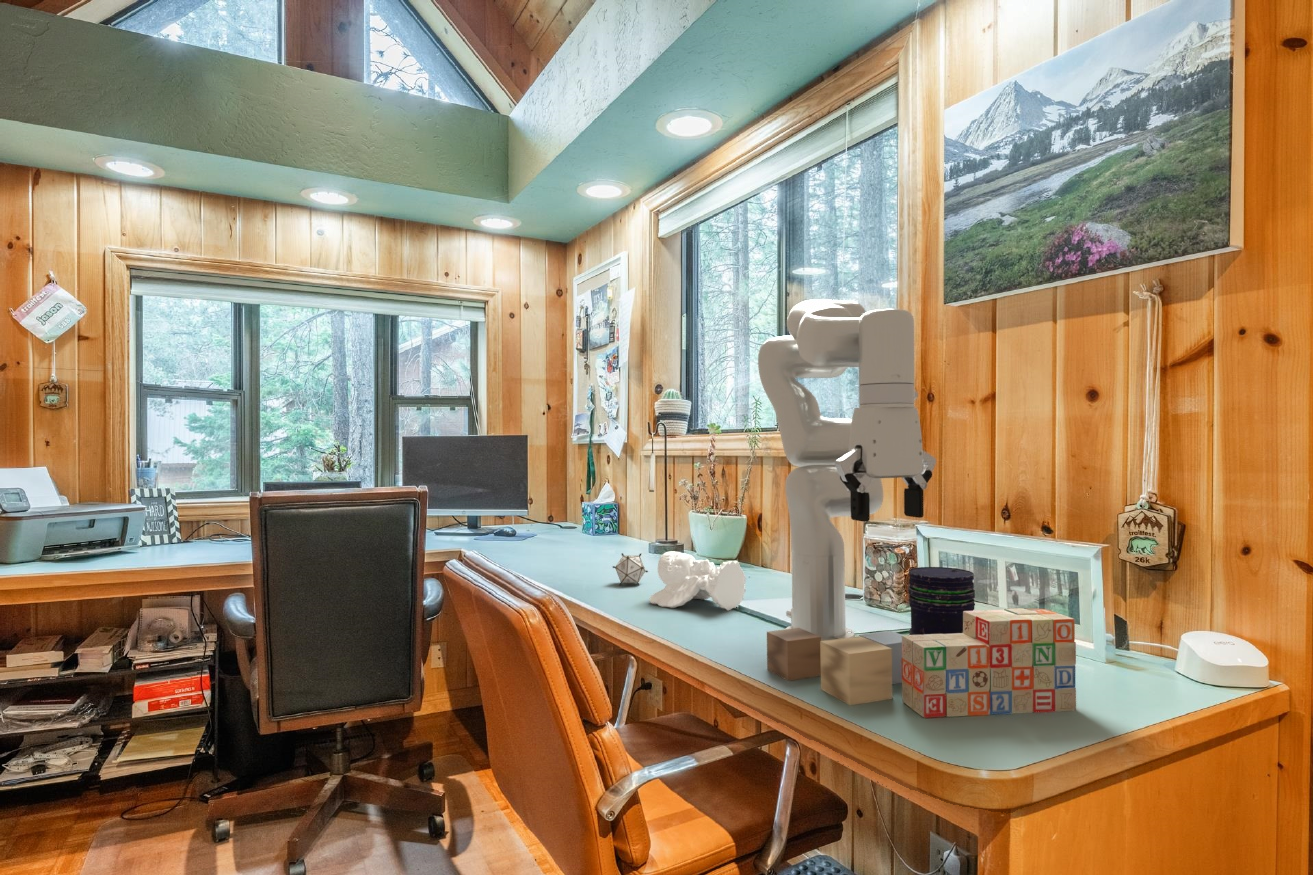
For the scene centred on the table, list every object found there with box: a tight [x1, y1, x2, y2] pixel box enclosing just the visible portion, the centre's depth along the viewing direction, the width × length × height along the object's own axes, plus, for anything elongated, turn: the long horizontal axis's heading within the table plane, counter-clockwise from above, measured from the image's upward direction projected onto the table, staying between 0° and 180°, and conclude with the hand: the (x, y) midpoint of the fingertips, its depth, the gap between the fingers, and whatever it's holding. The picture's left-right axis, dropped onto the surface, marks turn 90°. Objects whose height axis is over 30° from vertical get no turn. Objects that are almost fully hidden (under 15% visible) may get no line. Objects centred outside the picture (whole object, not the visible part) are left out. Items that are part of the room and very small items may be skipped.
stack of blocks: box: [901, 607, 1077, 718], centre depth 96 cm, size 21×6×12 cm, turn 97°
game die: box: [612, 552, 649, 587], centre depth 184 cm, size 9×8×10 cm
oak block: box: [820, 635, 893, 706], centre depth 101 cm, size 7×7×7 cm
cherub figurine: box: [649, 550, 747, 611], centre depth 159 cm, size 13×12×20 cm
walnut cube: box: [766, 628, 821, 681], centre depth 111 cm, size 6×6×6 cm
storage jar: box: [907, 566, 976, 635], centre depth 113 cm, size 10×10×15 cm
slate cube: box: [858, 630, 903, 685], centre depth 109 cm, size 6×6×6 cm
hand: (887, 518), depth 101 cm, fingers open, 9 cm apart
